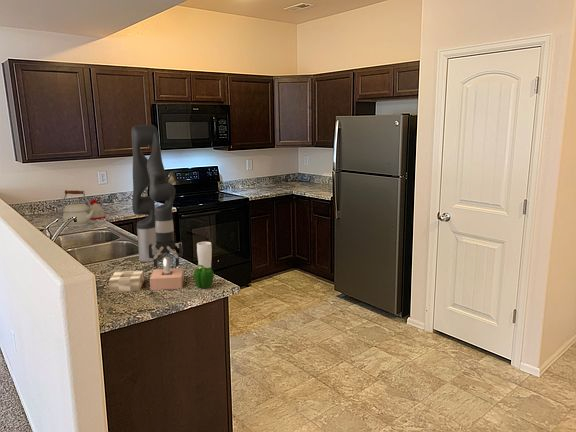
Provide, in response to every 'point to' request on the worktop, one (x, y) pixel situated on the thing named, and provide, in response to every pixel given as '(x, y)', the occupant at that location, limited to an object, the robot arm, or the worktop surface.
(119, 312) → the worktop surface
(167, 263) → the lock pin
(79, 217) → the kettle
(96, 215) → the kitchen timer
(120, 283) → the mount block
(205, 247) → the drinking glass
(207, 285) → the bell pepper
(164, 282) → the dock block
